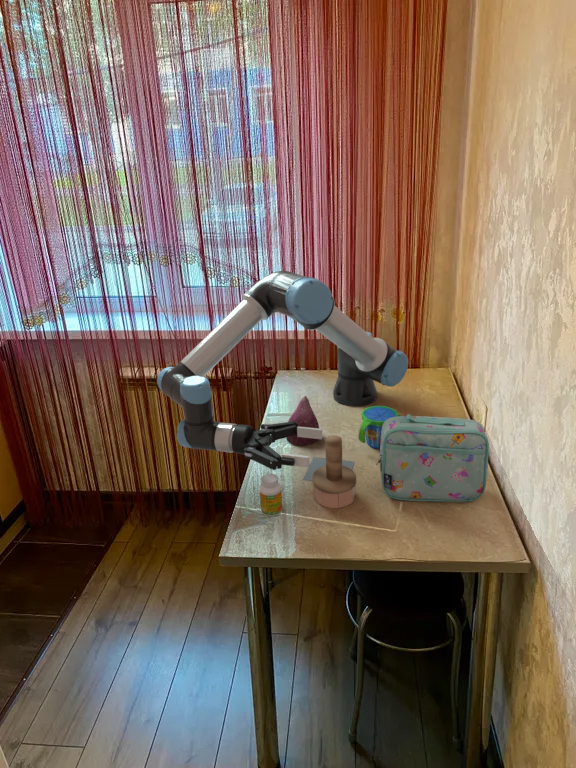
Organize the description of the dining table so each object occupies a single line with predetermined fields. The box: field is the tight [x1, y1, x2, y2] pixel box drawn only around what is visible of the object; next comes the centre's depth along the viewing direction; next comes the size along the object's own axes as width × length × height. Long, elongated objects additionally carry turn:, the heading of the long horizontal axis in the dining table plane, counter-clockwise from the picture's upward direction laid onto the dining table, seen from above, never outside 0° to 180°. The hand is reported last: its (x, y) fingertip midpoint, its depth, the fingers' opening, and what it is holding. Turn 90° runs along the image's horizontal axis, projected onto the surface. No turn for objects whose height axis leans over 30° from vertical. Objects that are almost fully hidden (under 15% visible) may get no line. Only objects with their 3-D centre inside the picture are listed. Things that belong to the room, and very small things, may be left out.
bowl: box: [313, 483, 357, 509], centre depth 142 cm, size 10×10×5 cm
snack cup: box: [358, 405, 400, 450], centre depth 164 cm, size 16×10×10 cm
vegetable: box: [285, 395, 320, 447], centre depth 170 cm, size 10×10×15 cm
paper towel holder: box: [312, 435, 357, 494], centre depth 138 cm, size 11×11×12 cm
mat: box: [302, 456, 356, 482], centre depth 153 cm, size 12×12×1 cm
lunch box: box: [376, 413, 490, 503], centre depth 138 cm, size 27×10×21 cm, turn 82°
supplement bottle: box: [259, 472, 284, 518], centre depth 137 cm, size 5×5×10 cm
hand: (315, 447), depth 138 cm, fingers open, 13 cm apart
